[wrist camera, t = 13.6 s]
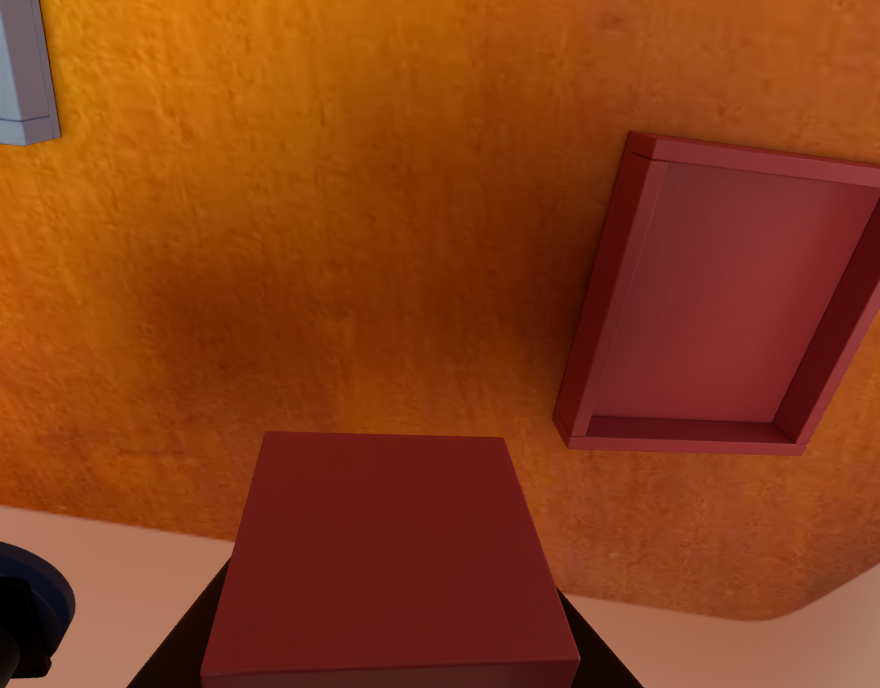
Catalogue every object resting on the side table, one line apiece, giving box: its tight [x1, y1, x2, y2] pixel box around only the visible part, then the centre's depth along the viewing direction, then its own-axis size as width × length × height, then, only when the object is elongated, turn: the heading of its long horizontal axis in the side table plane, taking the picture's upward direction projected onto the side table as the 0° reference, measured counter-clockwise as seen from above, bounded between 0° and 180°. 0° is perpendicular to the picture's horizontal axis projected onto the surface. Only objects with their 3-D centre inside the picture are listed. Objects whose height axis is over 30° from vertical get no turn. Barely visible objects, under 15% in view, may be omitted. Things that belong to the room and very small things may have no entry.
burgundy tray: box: [552, 131, 880, 456], centre depth 20 cm, size 11×10×2 cm
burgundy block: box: [200, 431, 580, 688], centre depth 8 cm, size 4×4×4 cm
